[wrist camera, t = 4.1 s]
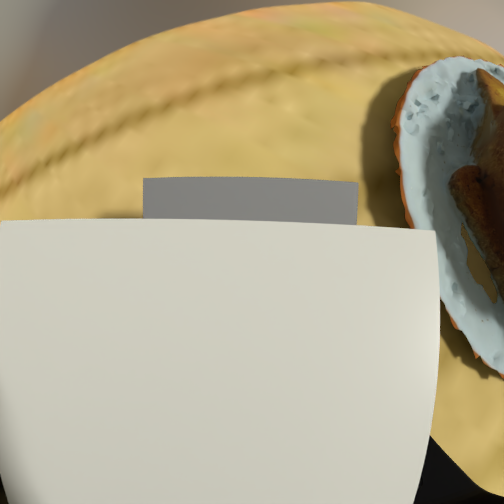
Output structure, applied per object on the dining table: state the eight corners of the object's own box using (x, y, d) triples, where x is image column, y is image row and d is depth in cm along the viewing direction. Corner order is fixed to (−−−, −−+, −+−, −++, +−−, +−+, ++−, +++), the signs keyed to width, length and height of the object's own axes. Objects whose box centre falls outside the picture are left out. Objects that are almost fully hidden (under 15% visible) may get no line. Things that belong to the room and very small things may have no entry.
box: (300, 417, 13) (366, 608, 1) (189, 409, 13) (23, 542, 2) (306, 308, 14) (435, 230, 3) (194, 303, 15) (1, 221, 3)
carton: (320, 484, 12) (338, 540, 7) (163, 471, 13) (124, 517, 8) (335, 227, 16) (363, 180, 10) (177, 221, 16) (139, 175, 11)
